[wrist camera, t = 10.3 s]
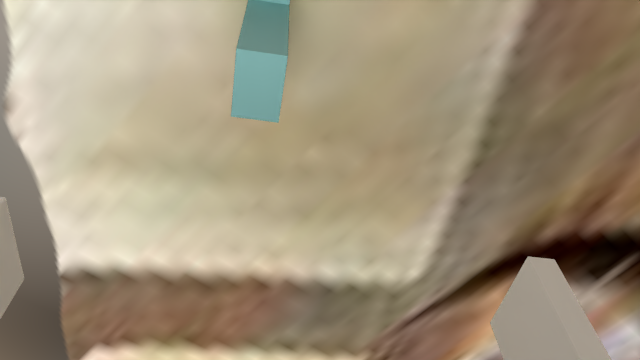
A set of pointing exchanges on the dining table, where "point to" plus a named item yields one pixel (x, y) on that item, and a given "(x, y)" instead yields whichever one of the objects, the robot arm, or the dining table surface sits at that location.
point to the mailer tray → (261, 60)
